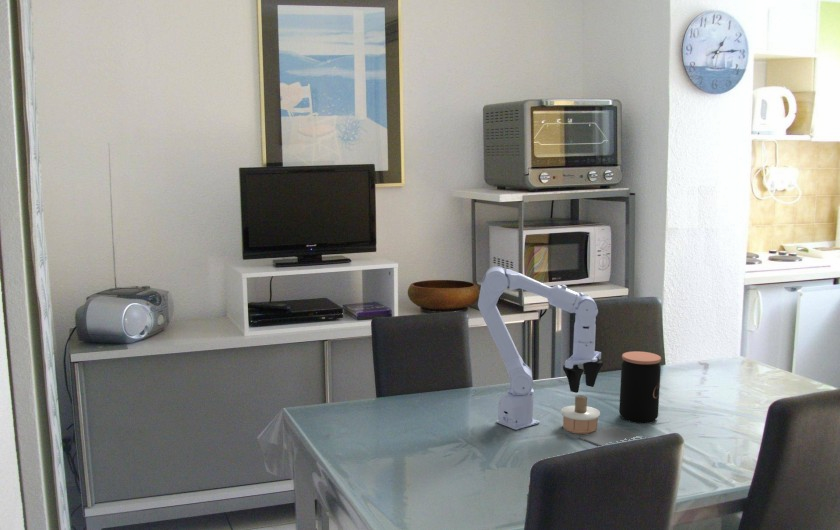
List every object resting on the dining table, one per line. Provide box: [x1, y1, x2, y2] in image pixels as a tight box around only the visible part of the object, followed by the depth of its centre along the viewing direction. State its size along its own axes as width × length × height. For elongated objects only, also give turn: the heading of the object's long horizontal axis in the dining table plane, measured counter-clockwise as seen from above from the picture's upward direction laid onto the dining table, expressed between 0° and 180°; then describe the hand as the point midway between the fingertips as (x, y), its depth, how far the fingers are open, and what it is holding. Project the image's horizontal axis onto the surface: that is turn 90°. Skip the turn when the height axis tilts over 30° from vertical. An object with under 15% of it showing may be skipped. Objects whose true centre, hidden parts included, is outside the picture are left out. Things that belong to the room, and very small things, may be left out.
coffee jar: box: [618, 350, 662, 424], centre depth 239 cm, size 11×11×18 cm
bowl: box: [562, 415, 599, 435], centre depth 231 cm, size 9×9×4 cm
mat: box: [578, 425, 645, 447], centre depth 224 cm, size 14×11×1 cm
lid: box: [560, 395, 601, 421], centre depth 231 cm, size 10×10×5 cm
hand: (582, 388), depth 232 cm, fingers open, 7 cm apart
